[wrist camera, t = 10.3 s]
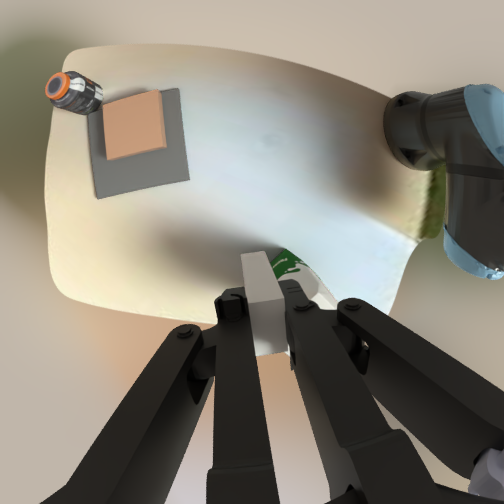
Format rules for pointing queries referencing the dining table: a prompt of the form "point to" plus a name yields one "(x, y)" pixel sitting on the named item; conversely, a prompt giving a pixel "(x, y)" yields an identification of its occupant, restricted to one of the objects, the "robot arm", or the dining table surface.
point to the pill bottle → (74, 92)
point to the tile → (134, 125)
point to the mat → (140, 155)
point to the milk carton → (303, 280)
